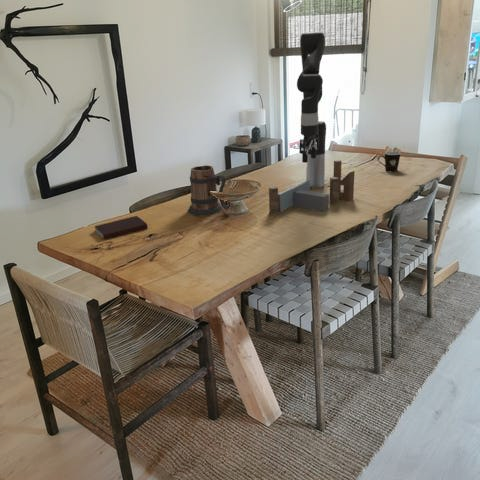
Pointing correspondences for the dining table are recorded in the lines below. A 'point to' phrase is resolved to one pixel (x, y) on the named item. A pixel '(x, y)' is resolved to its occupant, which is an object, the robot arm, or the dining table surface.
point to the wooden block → (344, 182)
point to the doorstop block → (311, 200)
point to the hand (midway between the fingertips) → (309, 160)
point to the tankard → (205, 191)
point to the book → (120, 227)
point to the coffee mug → (391, 161)
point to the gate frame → (274, 195)
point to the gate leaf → (290, 195)
